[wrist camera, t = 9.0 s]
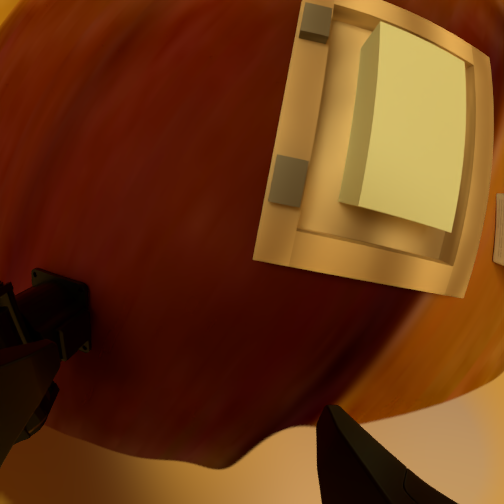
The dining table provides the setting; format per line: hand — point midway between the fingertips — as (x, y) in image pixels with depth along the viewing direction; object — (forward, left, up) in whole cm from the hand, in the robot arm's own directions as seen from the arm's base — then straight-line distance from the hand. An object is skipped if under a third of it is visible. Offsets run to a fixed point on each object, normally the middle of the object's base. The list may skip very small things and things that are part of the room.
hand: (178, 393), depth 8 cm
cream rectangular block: (+9, +12, -11) cm, 18 cm away
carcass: (+9, +12, -12) cm, 19 cm away
